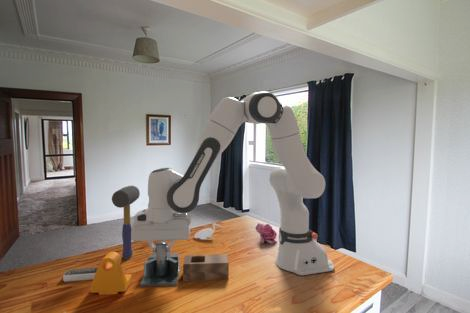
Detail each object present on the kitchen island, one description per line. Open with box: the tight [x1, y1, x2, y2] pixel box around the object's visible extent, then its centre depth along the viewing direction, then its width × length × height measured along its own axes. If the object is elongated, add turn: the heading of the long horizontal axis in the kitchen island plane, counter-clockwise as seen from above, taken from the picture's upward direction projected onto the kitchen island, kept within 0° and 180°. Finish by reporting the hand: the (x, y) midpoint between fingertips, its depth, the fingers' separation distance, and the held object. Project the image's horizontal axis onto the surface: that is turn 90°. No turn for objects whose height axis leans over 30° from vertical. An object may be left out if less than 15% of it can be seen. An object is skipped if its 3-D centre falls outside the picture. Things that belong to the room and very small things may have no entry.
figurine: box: [194, 222, 223, 241], centre depth 128 cm, size 14×4×9 cm, turn 91°
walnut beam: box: [182, 253, 230, 282], centre depth 95 cm, size 16×7×6 cm, turn 95°
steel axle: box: [155, 240, 169, 276], centre depth 93 cm, size 4×4×11 cm
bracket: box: [89, 251, 133, 296], centre depth 86 cm, size 11×7×12 cm, turn 95°
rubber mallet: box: [111, 185, 141, 260], centre depth 107 cm, size 12×8×30 cm, turn 0°
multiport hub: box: [62, 267, 98, 283], centre depth 93 cm, size 4×14×2 cm, turn 101°
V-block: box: [139, 252, 182, 288], centre depth 93 cm, size 12×12×6 cm
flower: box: [255, 223, 278, 245], centre depth 127 cm, size 11×10×10 cm
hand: (161, 251), depth 92 cm, fingers closed on steel axle, 4 cm apart
